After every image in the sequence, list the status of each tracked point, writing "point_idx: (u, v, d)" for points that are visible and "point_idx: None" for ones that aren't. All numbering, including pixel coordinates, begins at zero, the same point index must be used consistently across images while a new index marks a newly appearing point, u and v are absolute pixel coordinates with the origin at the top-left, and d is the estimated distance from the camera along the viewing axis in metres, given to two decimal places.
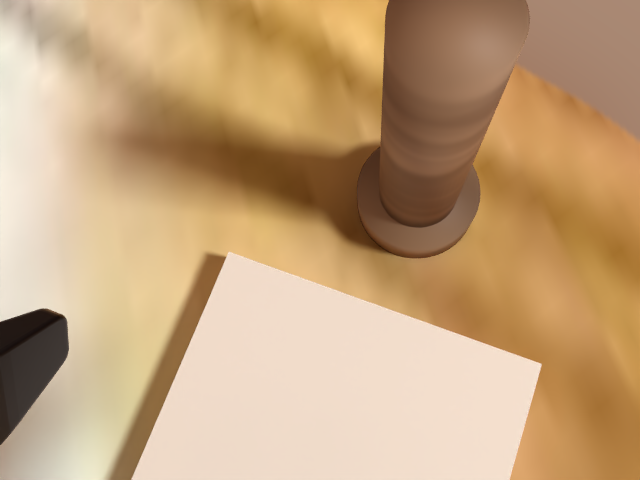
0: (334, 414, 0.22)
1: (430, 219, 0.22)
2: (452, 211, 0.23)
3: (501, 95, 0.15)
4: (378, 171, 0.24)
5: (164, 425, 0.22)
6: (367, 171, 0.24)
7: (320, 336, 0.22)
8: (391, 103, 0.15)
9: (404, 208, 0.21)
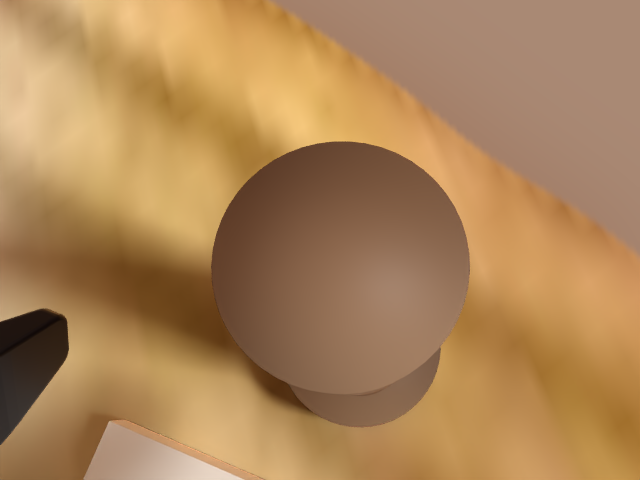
0: None
1: None
2: None
3: None
4: None
5: None
6: None
7: None
8: None
9: None
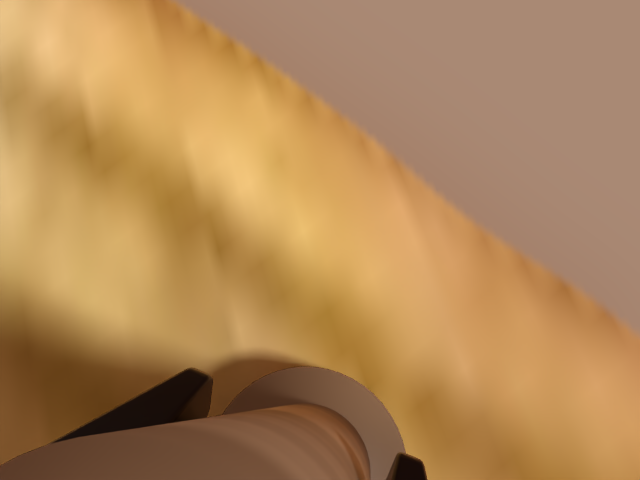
0: None
1: None
2: None
3: None
4: None
5: None
6: None
7: None
8: None
9: None
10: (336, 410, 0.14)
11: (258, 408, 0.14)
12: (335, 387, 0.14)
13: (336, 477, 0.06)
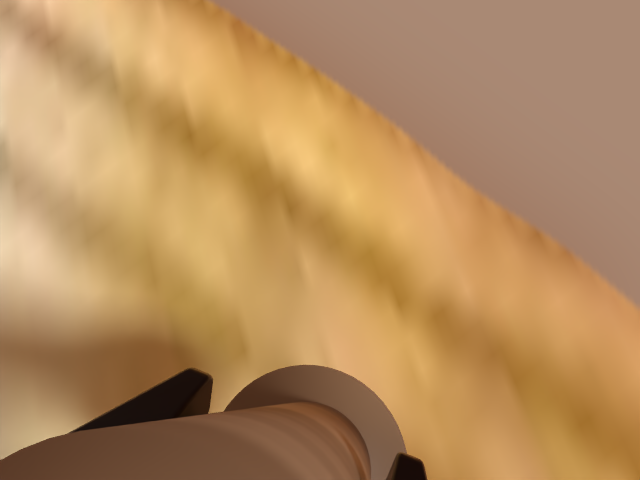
0: None
1: None
2: None
3: None
4: None
5: None
6: None
7: None
8: None
9: None
10: (336, 408, 0.14)
11: (258, 406, 0.15)
12: (336, 386, 0.14)
13: (337, 473, 0.06)
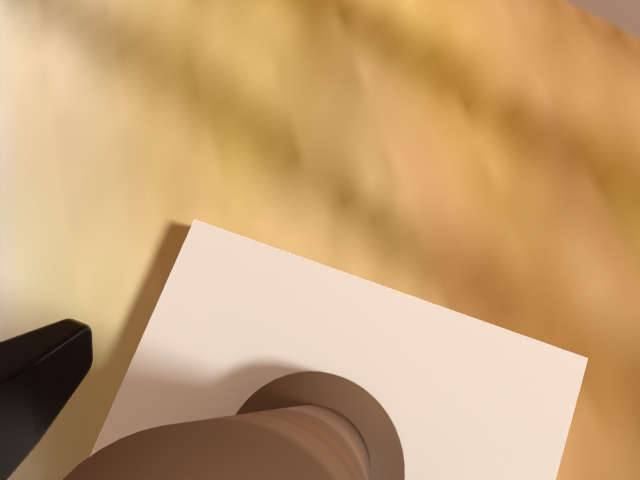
0: None
1: None
2: None
3: None
4: None
5: (111, 435, 0.18)
6: None
7: (306, 324, 0.18)
8: None
9: None
10: (339, 411, 0.16)
11: (268, 409, 0.16)
12: (338, 390, 0.16)
13: (345, 463, 0.08)
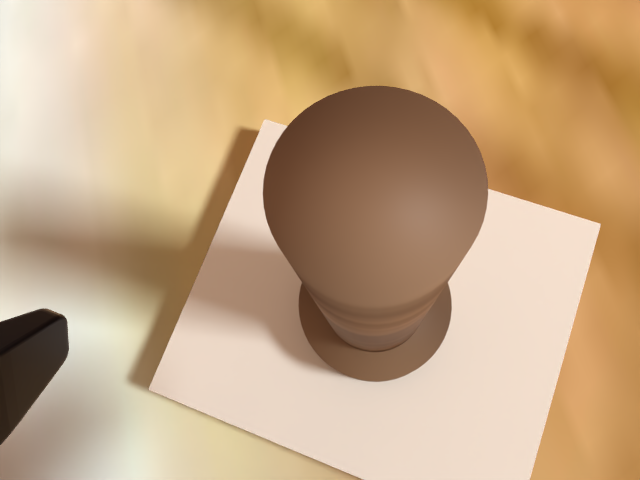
0: None
1: (385, 348, 0.17)
2: (416, 331, 0.18)
3: None
4: None
5: (200, 293, 0.21)
6: None
7: None
8: None
9: (350, 341, 0.17)
10: None
11: None
12: None
13: None
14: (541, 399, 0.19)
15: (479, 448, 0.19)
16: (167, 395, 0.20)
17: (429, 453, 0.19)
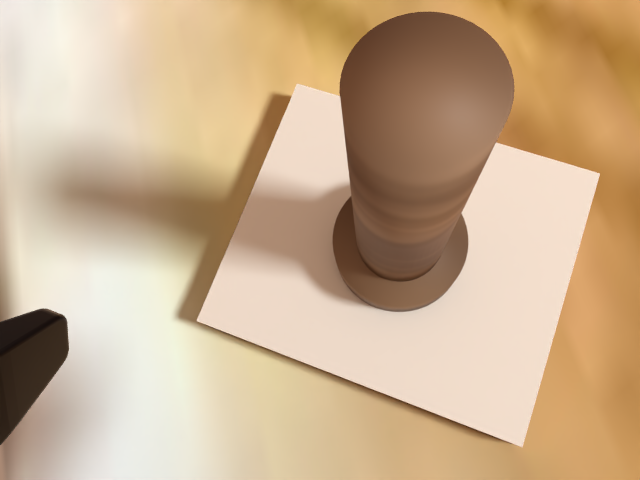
0: None
1: (411, 275, 0.20)
2: (437, 263, 0.21)
3: (483, 167, 0.12)
4: None
5: (241, 236, 0.23)
6: (344, 217, 0.22)
7: None
8: (354, 174, 0.13)
9: (381, 266, 0.19)
10: None
11: None
12: None
13: None
14: (547, 325, 0.21)
15: (492, 367, 0.21)
16: (213, 325, 0.23)
17: (448, 373, 0.21)
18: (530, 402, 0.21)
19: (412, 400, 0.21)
